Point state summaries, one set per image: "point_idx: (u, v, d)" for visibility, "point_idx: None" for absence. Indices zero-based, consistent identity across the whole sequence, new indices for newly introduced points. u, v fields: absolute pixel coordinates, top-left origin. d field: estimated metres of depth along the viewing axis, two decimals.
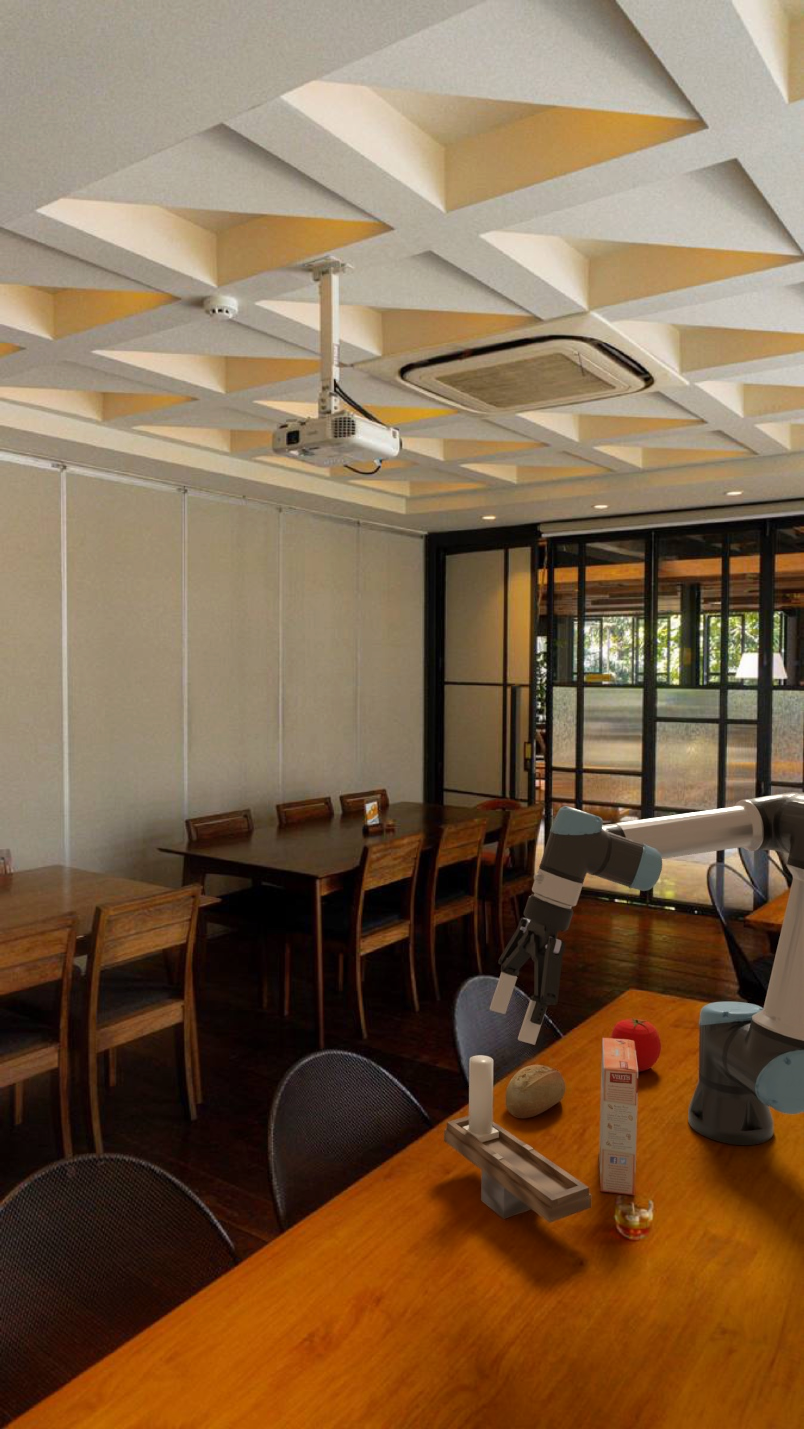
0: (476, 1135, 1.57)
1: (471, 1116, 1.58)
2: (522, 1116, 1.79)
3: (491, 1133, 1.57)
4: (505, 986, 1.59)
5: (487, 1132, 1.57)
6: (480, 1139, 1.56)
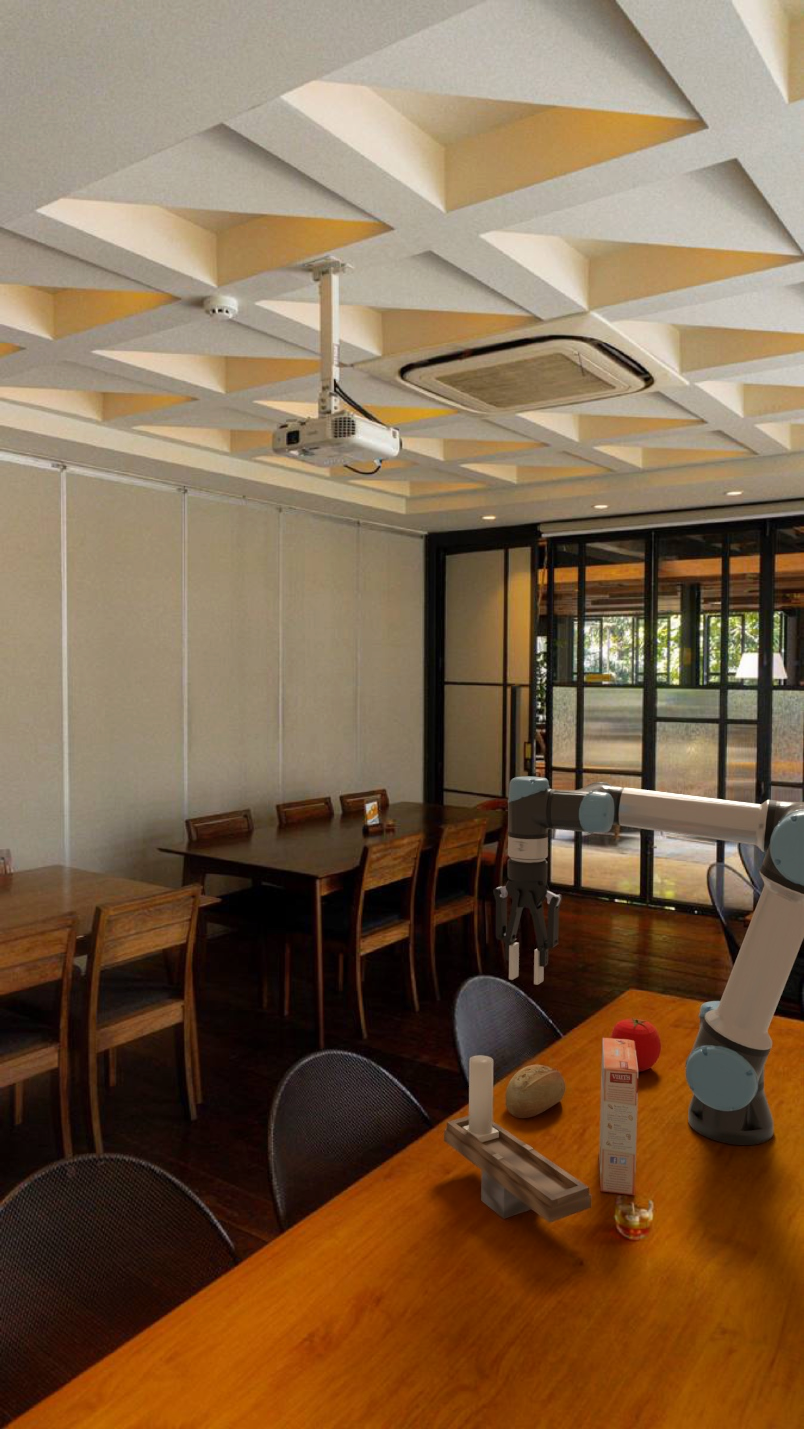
0: (476, 1135, 1.57)
1: (471, 1116, 1.58)
2: (522, 1116, 1.79)
3: (491, 1133, 1.57)
4: (515, 955, 1.81)
5: (487, 1132, 1.57)
6: (480, 1139, 1.56)
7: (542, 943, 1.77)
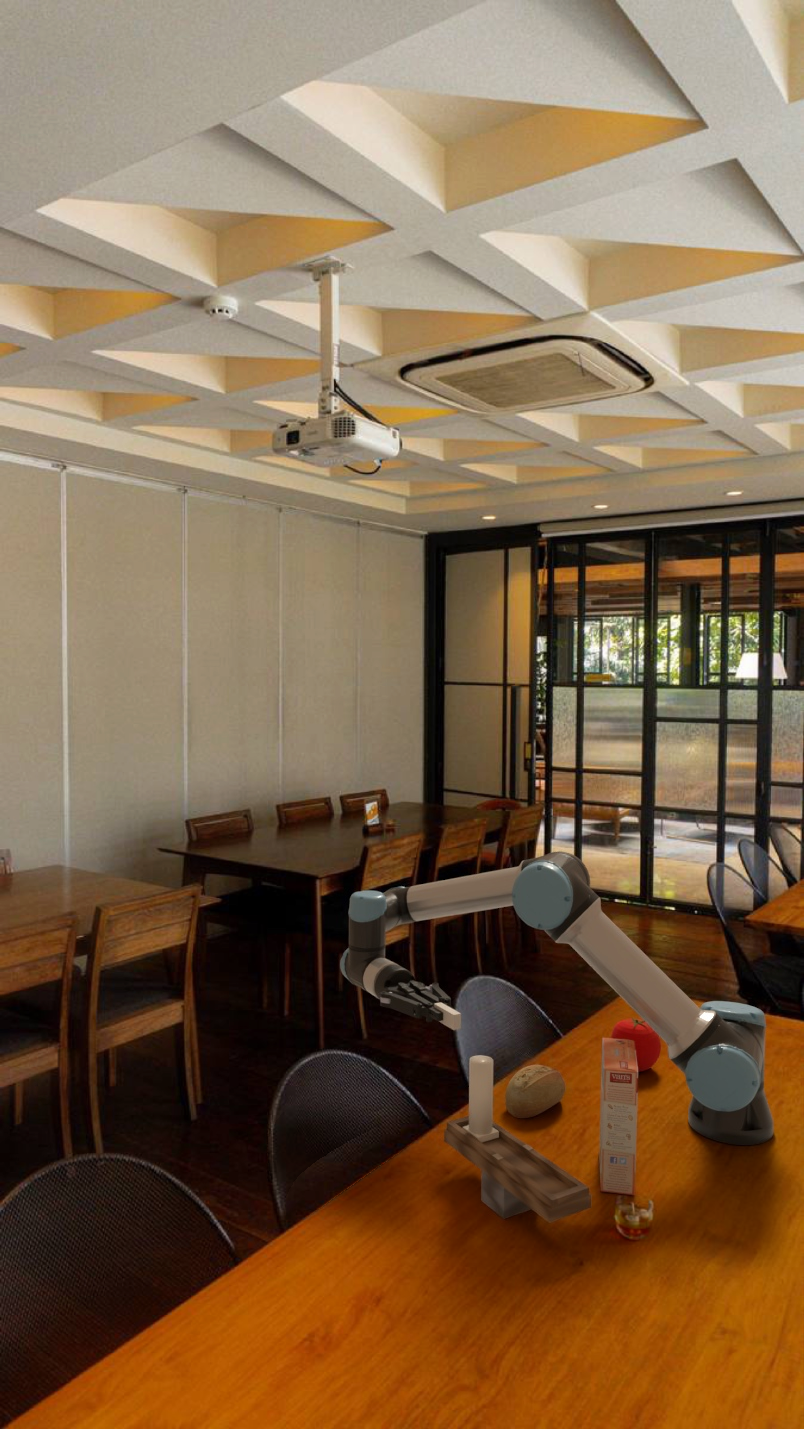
0: (476, 1135, 1.57)
1: (471, 1116, 1.58)
2: (522, 1116, 1.80)
3: (491, 1133, 1.57)
4: None
5: (487, 1132, 1.57)
6: (480, 1139, 1.56)
7: None
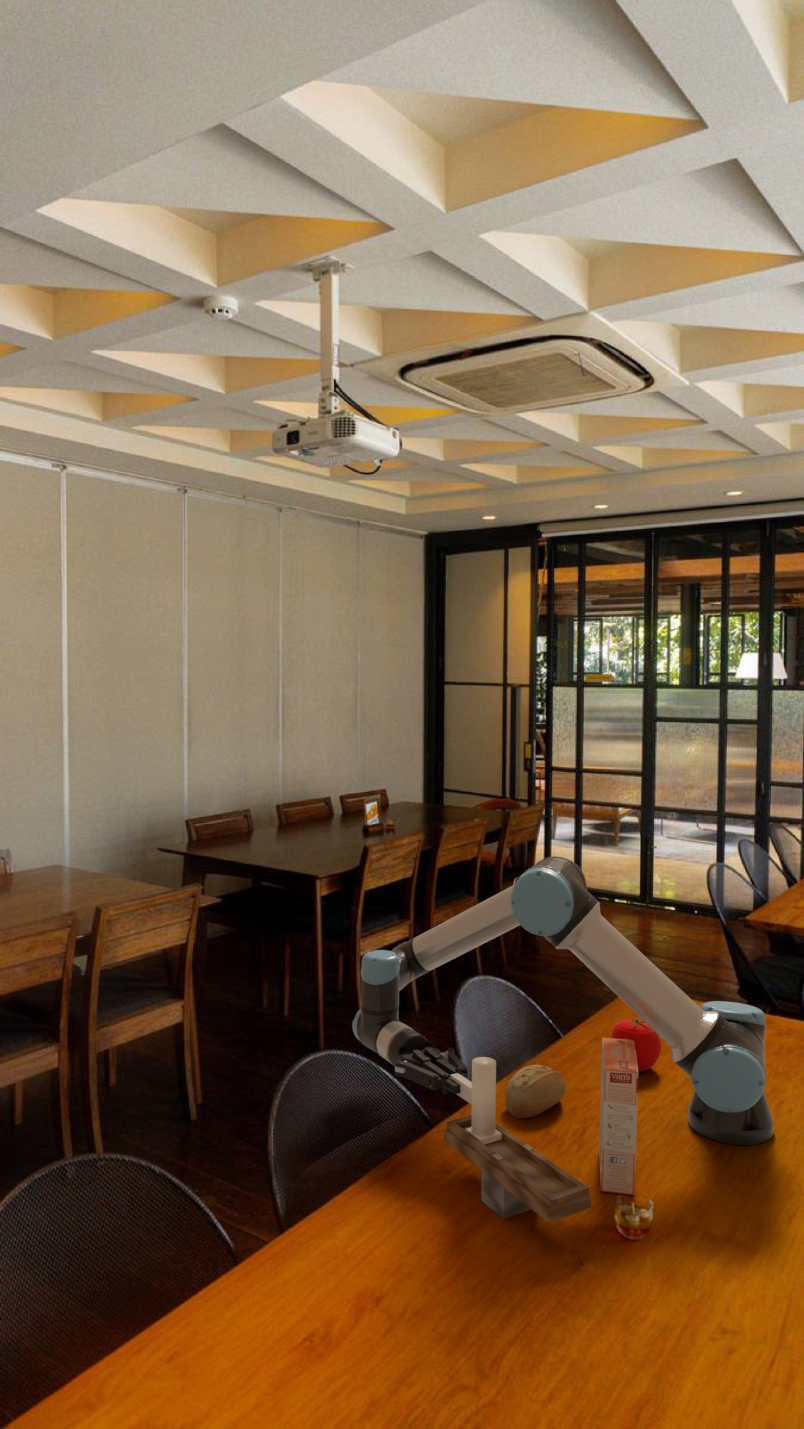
0: (479, 1137, 1.56)
1: (474, 1118, 1.57)
2: (521, 1116, 1.80)
3: (494, 1135, 1.57)
4: None
5: (489, 1134, 1.56)
6: (483, 1141, 1.56)
7: None
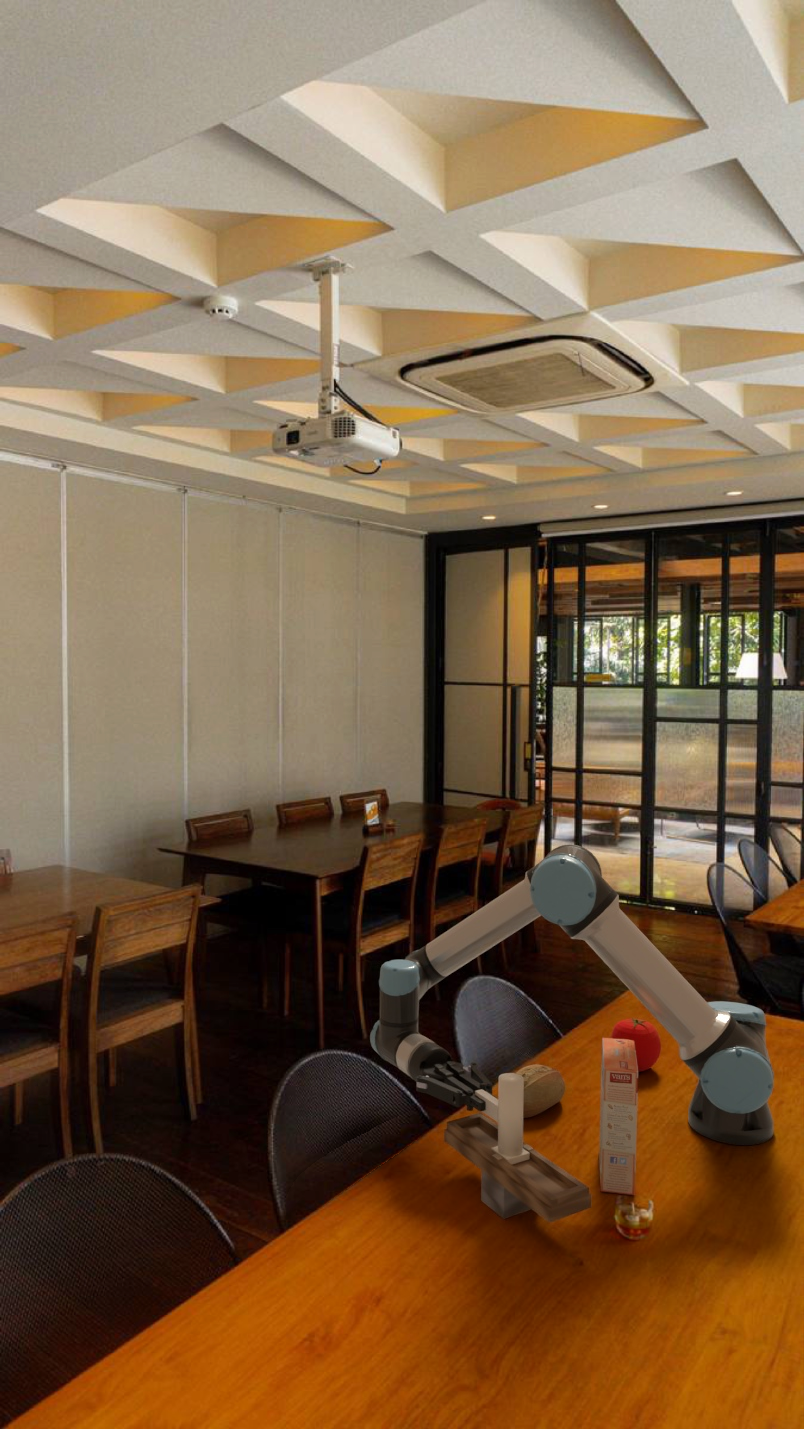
0: (506, 1157, 1.50)
1: (501, 1137, 1.50)
2: None
3: (521, 1155, 1.50)
4: None
5: (517, 1154, 1.50)
6: (510, 1161, 1.49)
7: None
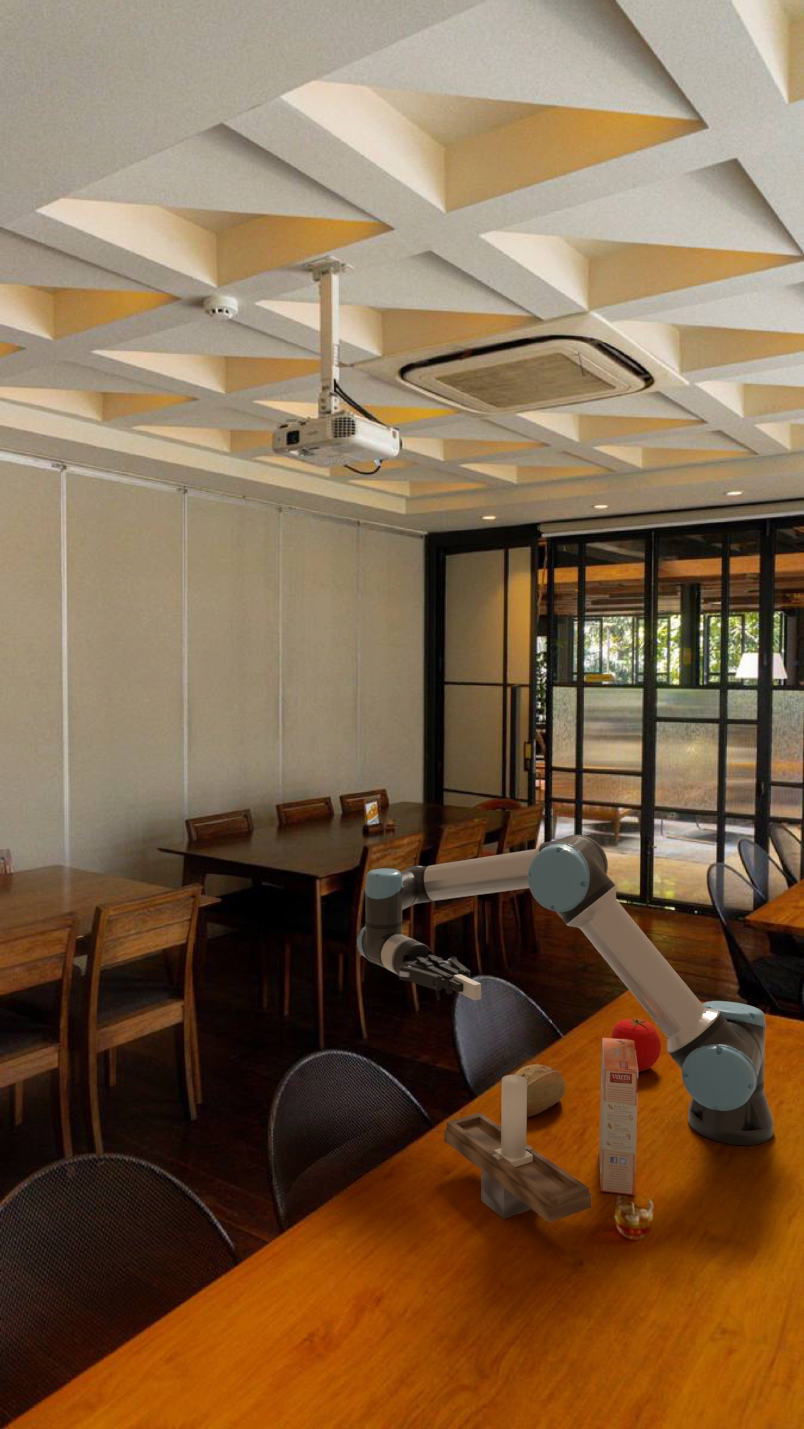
0: (509, 1159, 1.49)
1: (504, 1139, 1.50)
2: None
3: (525, 1157, 1.50)
4: None
5: (520, 1156, 1.49)
6: (513, 1164, 1.48)
7: None
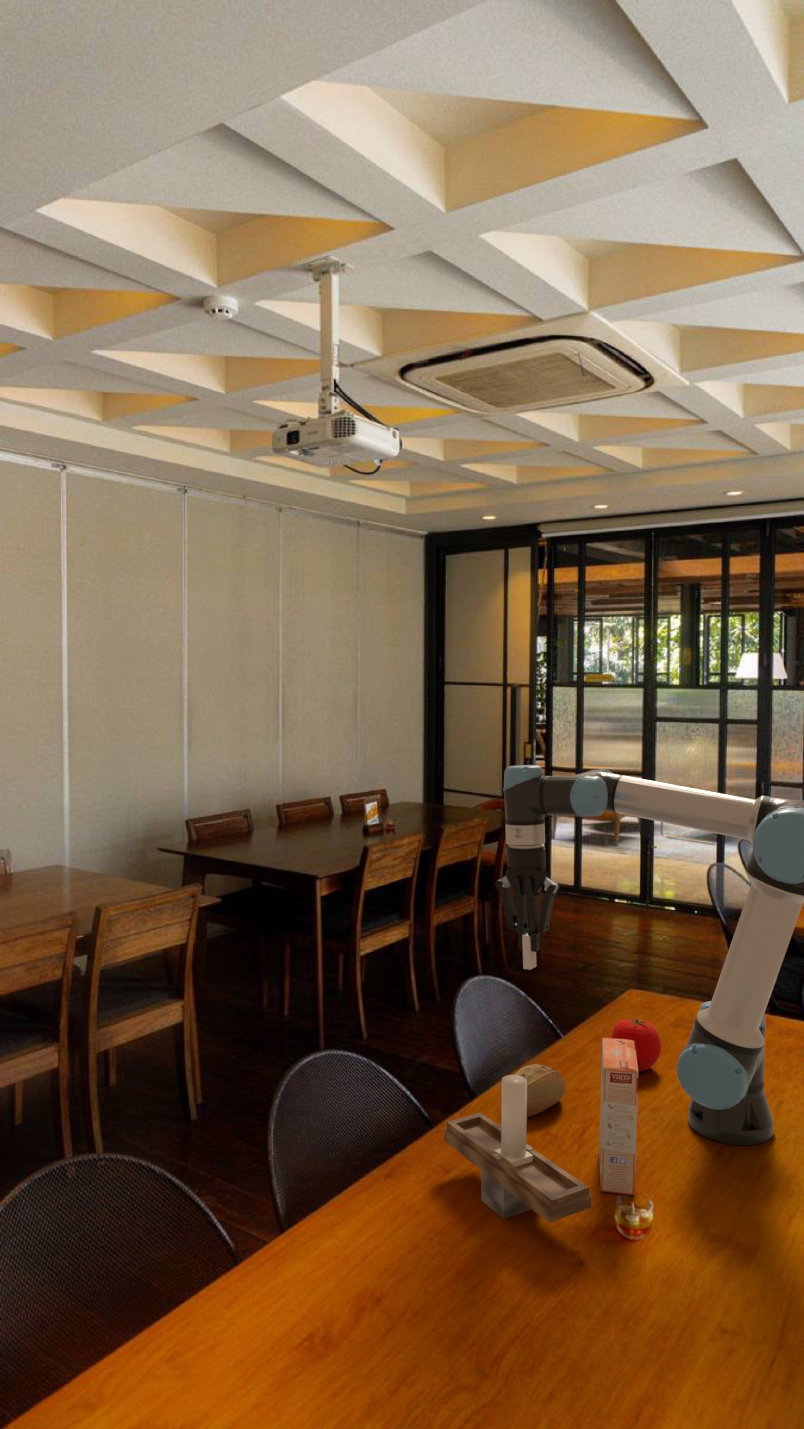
0: (509, 1159, 1.49)
1: (504, 1139, 1.50)
2: None
3: (525, 1157, 1.50)
4: None
5: (520, 1156, 1.49)
6: (513, 1164, 1.48)
7: (533, 929, 1.80)
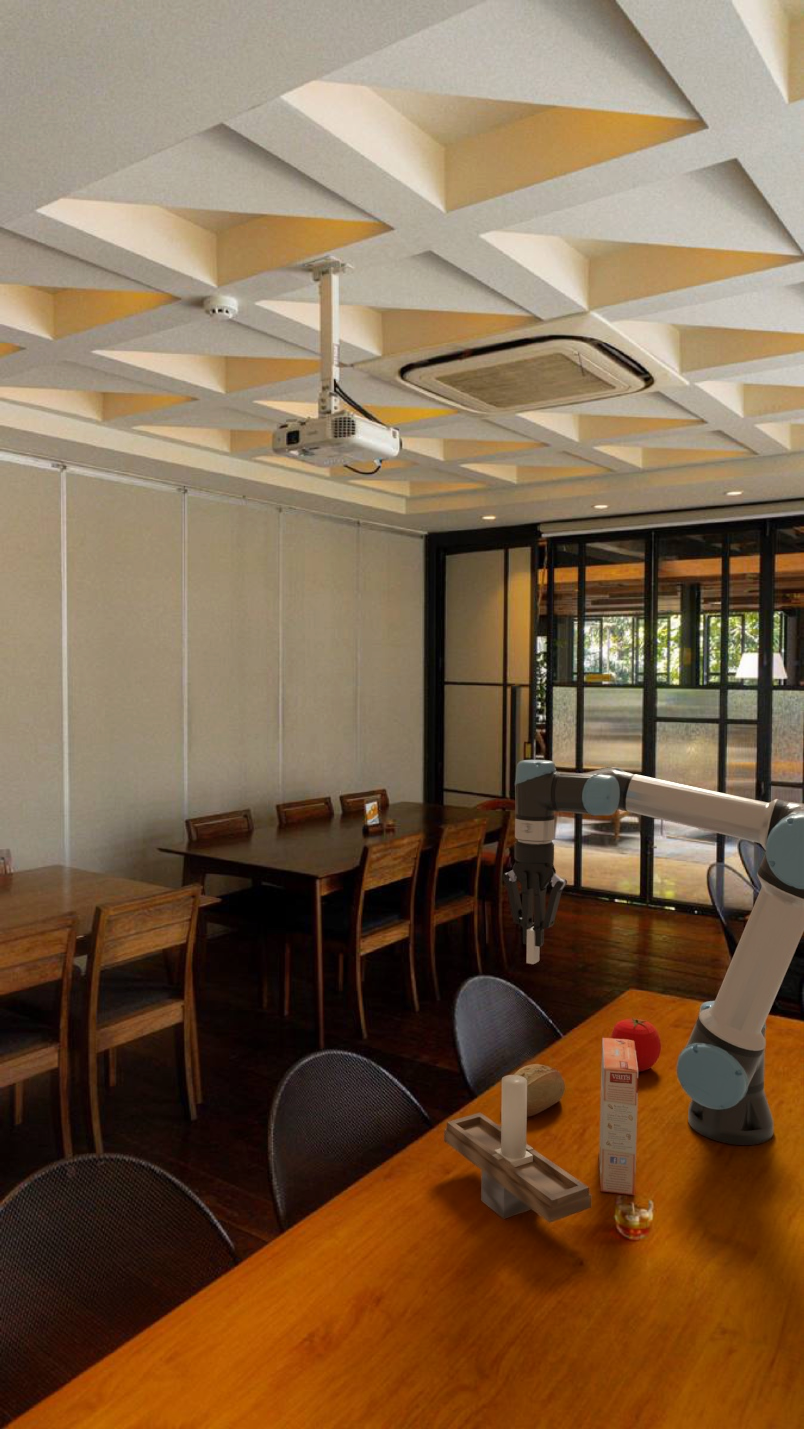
0: (509, 1159, 1.49)
1: (504, 1139, 1.50)
2: None
3: (525, 1157, 1.50)
4: None
5: (520, 1156, 1.49)
6: (513, 1164, 1.48)
7: (539, 924, 1.80)
